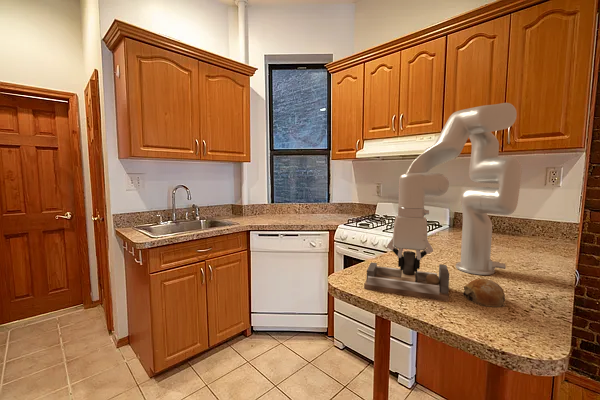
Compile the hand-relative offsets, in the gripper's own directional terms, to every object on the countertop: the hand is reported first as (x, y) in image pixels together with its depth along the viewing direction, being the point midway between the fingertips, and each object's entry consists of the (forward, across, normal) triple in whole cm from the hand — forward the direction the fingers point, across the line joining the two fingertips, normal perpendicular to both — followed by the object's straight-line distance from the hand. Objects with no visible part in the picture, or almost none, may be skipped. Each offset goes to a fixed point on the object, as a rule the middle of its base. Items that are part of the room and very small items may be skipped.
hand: (408, 269), depth 90 cm
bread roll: (+6, -20, +1) cm, 22 cm away
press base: (+6, +1, 0) cm, 6 cm away
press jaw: (+4, 0, 0) cm, 4 cm away
